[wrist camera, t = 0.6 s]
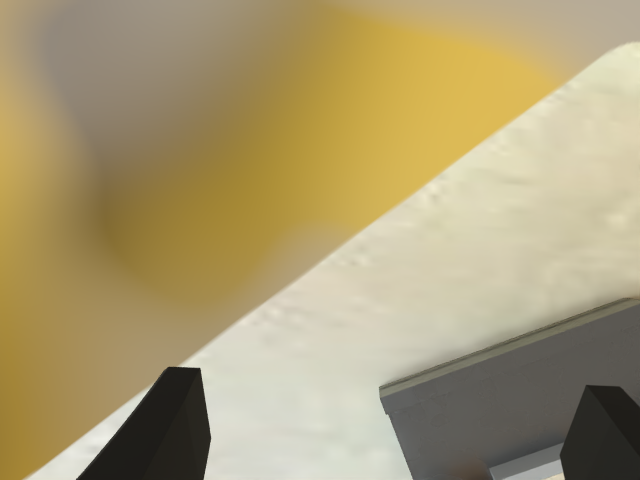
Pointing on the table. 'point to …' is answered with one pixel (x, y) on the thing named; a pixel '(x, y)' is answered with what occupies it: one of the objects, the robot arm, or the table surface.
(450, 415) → the tray
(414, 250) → the table surface
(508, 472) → the block
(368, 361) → the table surface
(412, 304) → the table surface
